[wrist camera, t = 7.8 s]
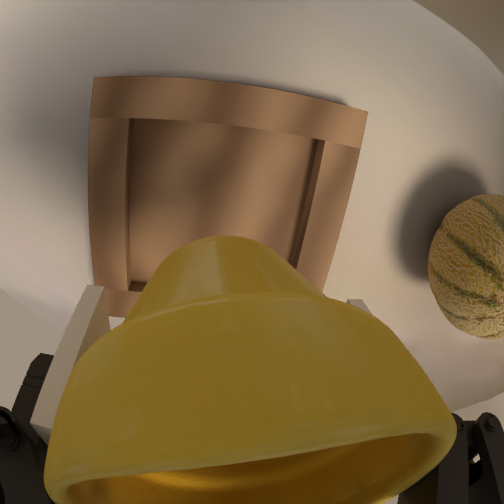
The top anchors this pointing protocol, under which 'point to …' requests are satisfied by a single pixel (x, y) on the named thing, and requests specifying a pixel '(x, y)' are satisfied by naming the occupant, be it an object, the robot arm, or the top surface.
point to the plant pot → (243, 394)
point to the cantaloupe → (471, 266)
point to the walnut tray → (213, 174)
